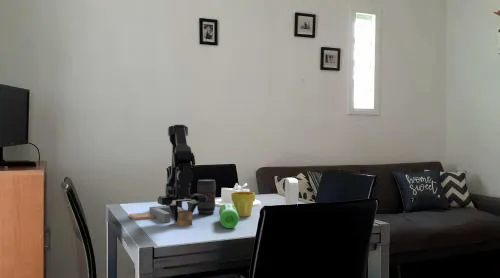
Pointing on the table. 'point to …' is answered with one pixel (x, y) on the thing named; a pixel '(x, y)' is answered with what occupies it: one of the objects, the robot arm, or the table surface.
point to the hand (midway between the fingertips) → (182, 221)
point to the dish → (227, 195)
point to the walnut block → (184, 218)
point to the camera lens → (209, 190)
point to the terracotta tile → (141, 216)
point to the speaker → (228, 215)
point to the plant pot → (243, 202)
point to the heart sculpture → (291, 191)
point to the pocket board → (162, 213)
